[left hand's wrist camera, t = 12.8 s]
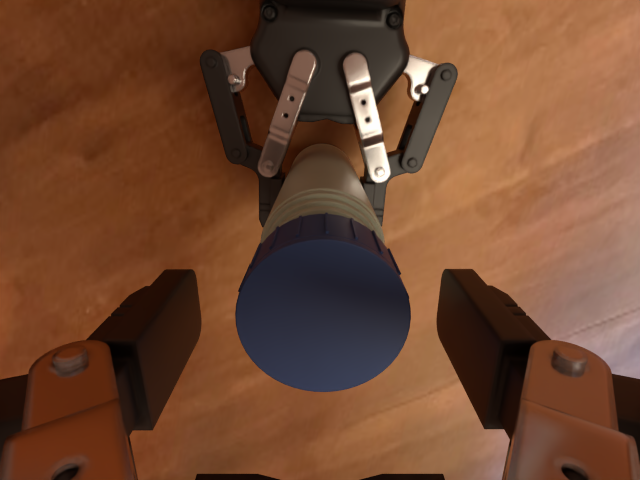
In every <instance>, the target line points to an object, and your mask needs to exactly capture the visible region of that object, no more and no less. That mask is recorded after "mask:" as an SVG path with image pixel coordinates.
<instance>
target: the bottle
mask: <svg viewBox="0 0 640 480" xmlns="http://www.w3.org/2000/svg"><path fill="white" fill-rule="evenodd" d="M325 213H328V214H333V215H340V216H343V217H347V218H353V219H354V220H355V221H357V222H359V223H361V224H362V225H364V226H366V227H367V228H369V229H370V230H371V231H373V230H374V231H375V233H376V235H377V236H378V237H379V238H380V239H381V241H382V242H383V243H384V235H383V231H382V228H381V225H380V223H379V221H378V218H377V216H376V214H375V212H374V210H373V208H372V206H371V204H370V202H369V199H368V197H367V195H366V193H365V191H364V189H363V187H362V185H361V183H360V181H359V178H358V176H357V174H356V172H355V170H354V168H353V166H352V164H351V162H350V160H349V158H348V157H347V155H346V154H345V153H344V152H343V151H342V150H341V149H339V148H337V147H335V146H333V145H330V144H314V145H311V146H309V147H307V148H305V149H304V150H302V151H301V152H300V153H299V154H298V155H297V157H296V158H295V160H294V162H293V164H292V166H291V168H290V170H289V172H288V175H287V177H286V179H285V181H284V183H283V186H282V188H281V190H280V192H279V194H278V197H277V199H276V201H275V203H274V205H273V208H272V210H271V212H270V214H269V216H268V218H267V221H266V223H265V225H264V228H263V231H262V235H261V243H263V242H264V240H265V239H266V238H267V237H268V236H269V235H270V234H271V233H272V232H273V231H274V230H275V229H276V227H277V226H279V227H280V226H281V225H283V224H285V223H287V222H289V221H291V220H293V219H296V218H299V216H301V215H302V216H307V215H313V214H325ZM384 245H385V244H384Z"/></svg>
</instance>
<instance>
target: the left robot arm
mask: <svg viewBox="0 0 640 480" xmlns="http://www.w3.org/2000/svg"><path fill="white" fill-rule="evenodd" d="M437 331H438V336H439V339H440V341H441V343H442V345H443V347H444V349H445V351H446V353H447V355H448V357H449V359H450V361H451V363H452V365H453V367H454V369H455V371H456V373H457V375H458V377H459V379H460V381H461V383H462V385H463V387H464V389H465V391H466V393H467V395H468V397H469V399H470V401H471V403H472V405H473V407H474V409H475V411H476V413H477V415H478V417H479V419H480V421H481V423H482V425H483V427H484V429H504V430H505V431H506V433H507V435H508V437H509V439H510V442H509V446H508V451H507V456H506V461H505V466H504V471H503V476H502V480H640V379H636V378H631V377H626V376H620V375H615V374H612V373H611V369H610V368H609V366H608V365H607V363H606V362H605V361H604V360H603V359H601V358H600V357H599V356H597V355H596V354H594V353H593V352H591V351H589V350H587V349H585V348H583V347H580V346H578V345H575V344H571V343H568V342H563V341H557V340H551V339H550V338H549V337H548V336H547V335H546V334H545V333H544V332H543V331H542V330H541V329H540V327H539V326H538V325H537V324H536V323H535V322H534V321H533V320H532V319H531V318H530V317H529V316H526V313H525V312H524V311H523V310H522V309H521V308H520V307H518V305H517V304H516V303H515V301H514V300H513V299H512V298H511V297H510V296H509V295H508V294H506V293H504V292H502V291H501V290H499V289H497V288H495V287H493V286H487V284H486V283H485V282H484V281H483V280H482V279H481V278H480V277H479V276H478V274H477V273H476V272H475V271H474V270H473V269H445V270H444V271H443V274H442V278H441V286H440V294H439V303H438V311H437ZM200 332H201V312H200V304H199V296H198V287H197V279H196V274H195V272H194V271H193V270H192V269H166V270H164V271H163V272H162V273H161V275H160V276H159V277H158V278H157V279H156V280H155V281H154V282H153V283H152V284H151V286H145V287H143V288H141V289H140V290H138V291H136V292H134V293H132V294H131V295H129V296H128V297H127V298H126V299H125V300H124V301H123V302H122V303H121V305H120V307H118V308H117V309H116V310H115V311H114V312H113V313H112V314H111V316H109V317H108V318H107V319H106V320H105V321H104V322H103V323H102V324H101V325H100V326H99V327H98V328H97V329H96V330H95V331H94V332H93V333H92V334H91V335H90V336H89V337H88V338H87V340H83V341H77V342H72V343H69V344H65V345H62V346H60V347H57V348H55V349H53V350H51V351H49V352H47V353H46V354H44V355H43V356H41V357H40V358H39V359H37V360H36V361H35V362H34V363H33V365H32V366H31V368H30V369H29V373H28V374H26V375H22V376H16V377H11V378H6V379H1V380H0V480H138V476H137V471H136V466H135V461H134V456H133V451H132V446H131V442H130V437H129V436H130V434H131V432H132V430H153V428H154V426H155V425H156V423H157V421H158V419H159V417H160V415H161V413H162V411H163V409H164V407H165V405H166V403H167V401H168V399H169V397H170V395H171V393H172V391H173V389H174V387H175V385H176V383H177V381H178V379H179V377H180V375H181V373H182V371H183V369H184V367H185V365H186V363H187V361H188V359H189V357H190V355H191V353H192V351H193V349H194V347H195V345H196V343H197V341H198V339H199V336H200ZM195 480H279V479H275V478H271V477H268V476H264V475H260V474H197V476H196V479H195ZM361 480H445V479H444V476H443V474H380V475H376V476H372V477H369V478H365V479H361Z"/></svg>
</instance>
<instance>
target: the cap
mask: <svg viewBox="0 0 640 480" xmlns="http://www.w3.org/2000/svg"><path fill="white" fill-rule="evenodd" d="M400 274H401V273H400V270H399V268H398V266H397V264H396V262H395V260H394V257H393V255H392V253H391V251H390V249H387V248H386V246H385V245H384V243H383V242H382V241H381V239H380V238H379V237H378V236H377V235H376V233H375V231H374V230H373V231H371V230H370V229H369V228H367V227H366V226H364V225H362V224H361V223H359V222H357V221H355V220H354V219H353V218H347V217H343V216H340V215H333V214H328V213H325V214H313V215H307V216H302V215H301V216H299V218H296V219H293V220H291V221H289V222H287V223H285V224H283V225H281V226H280V227H279V226H277V227H276V229H275V230H274V231H273V232H272V233H271V234H270V235H269V236H268V237H267V238H266V239H265V240H264V242H263V243H260V244H259V246H258V248H257V250H256V253H255V255H254V257H253V259H252V262H251V264H250V265H249V267H248V269H247V272H246V274H245V276H244V278H243V281H242V283H241V285H240V288H239V290H238V292H239V295H238V299H237V303H236V313H235V315H236V326H237V331H238V335H239V338H240V341H241V343H242V345H243V347H244V349H245V351H246V353H247V354H248V355H249V357H250V358H251V359H252V361H253V362H254V363H255V364H256V365H257V366H258V367H259V368H260V369H261V370H262V371H264V372H265V373H266V374H267V375H269V376H271V377H272V378H274V379H275V380H277V381H279V382H281V383H283V384H285V385H288V386H291V387H294V388H298V389H302V390H307V391H314V392H331V391H339V390H344V389H349V388H352V387H355V386H358V385H360V384H363V383H365V382H367V381H369V380H371V379H372V378H374V377H376V376H377V375H378V374H380V373H381V372H383V371H384V370H385V369H386V368H387V367H388V366H389V365H390V364H391V363H392V362H393V361H394V359H395V358H396V357H397V356H398V354H399V352H400V351H401V349H402V348H403V345H404V343H405V341H406V339H407V335H408V332H409V328H410V320H411V311H410V303H409V296H408V293H407V291H406V289H405V287H404V284H403V282H402V280H401V278H400Z"/></svg>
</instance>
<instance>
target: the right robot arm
mask: <svg viewBox="0 0 640 480" xmlns="http://www.w3.org/2000/svg"><path fill="white" fill-rule="evenodd" d="M405 2H406V0H260V18H259V23H258V27H257V30H256V32H255V34H254V36H253V38H252V40H251V44H250V46H248V47H243V48H239V49H235V50H230V51H226V52H222V53H219V52H217V51H215V50H206V51H204V52H203V53H202V55H201V57H200V65H201V69H202V73H203V76H204V80H205V83H206V87H207V90H208V94H209V97H210V101H211V104H212V108H213V111H214V115H215V118H216V122H217V125H218V129H219V133H220V136H221V140H222V143H223V147H224V150H225V154H226V157H227V159H228V160H229V161H230V162H231V163H233V164H241V165H243V166H246V167H248V168H250V169H252V170H254V171H255V172H256V174H257V175H258V178H259V220H260V222H261V225H262V227H264V225H265V223H266V221H267V218H268V216H269V214H270V212H271V210H272V208H273V205H274V203H275V201H276V199H277V197H278V194H279V192H280V190H281V188H282V186H283V183H284V181H285V173H284V172H282V163H283V161H284V158H285V155H286V153H287V150H288V147H289V145H290V142H291V139H292V137H293V134H294V132H295V129H296V127H297V124H298V121H302V122H315V121H319V120H323V119H329V120H332V121H335V122H338V123H341V124H353V125H354V129H355V133H356V137H357V140H358V143H359V147H360V150H361V154H362V158H363V162H364V166H365V169H364V177H360V183H361V185H362V187H363V189H364V191H365V193H366V195H367V197H368V199H369V202H370V204H371V206H372V208H373V210H374V212H375V214H376V216H377V218H378V221H379V223H380V225H381V227H382V222H383V212H384V203H385V194H386V186H387V183H388V182H389V180H390V179H391V178H393V177H395V176H397V175H401V174H404V173H416V172H418V171H419V170H420V169H421V167H422V165H423V163H424V160H425V158H426V155H427V153H428V150H429V148H430V145H431V142H432V140H433V137H434V135H435V132H436V130H437V127H438V125H439V122H440V120H441V117H442V115H443V112H444V110H445V107H446V105H447V102H448V100H449V97H450V94H451V92H452V89H453V87H454V84H455V82H456V79H457V76H458V72H457V69H456V67H455V66H454V65H453V64H451V63H442V64H436V63H433V62H430V61H427V60H424V59H421V58H419V57H416V56H413V55H410V52H409V47H408V44H407V42H406V39H405V36H404V29H403V21H404V11H405ZM254 66H256V67H257V69H258V71H259V72H260V74H261V75H262V77H263V78H264V80H265V81H266V83H267V84H268V86H269V88H270V89H271V91H272V92H273V94H274V95H275V97H276V98H277V100H278V101H279V102H278V105H277V108H276V111H275V113H274V116H273V119H272V122H271V125H270V128H269V132H268V136H267V139H266V142H265V145H264V147H261V146H259V145H257V144H254V143H253V142H252V138H251V134H250V130H249V126H248V122H247V118H246V114H245V110H244V107H243V103H242V99H241V95H240V92H242V91H244V90H245V89H246V88H247V86H248V82H249V81H248V74H249V71H250V70H251V69H252V68H253V67H254ZM402 74H403V75H404V76H405V77H406V78H407V81H408V88H407V94H408V97H409V98H410V99H411V100H413V101H414V103H413V106H412V109H411V111H410V114H409V117H408V119H407V122H406V125H405V128H404V130H403V133H402V136H401V138H400V141H399V144H398V147H397V149H396V150H395V151H392V152H388V153H386V150H385V145H384V141H383V132H382V128H381V124H380V119H379V115H378V111H377V107H376V106H377V104H378V103H379V102H380V101H381V100H382V98H383V97H384V96H385V95H386V93H387V92H388V91H389V90H390V88H391V87H392V86H393V85H394V83H395V82H396V81H397V80H398V78H399V77H400V76H401V75H402Z"/></svg>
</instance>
